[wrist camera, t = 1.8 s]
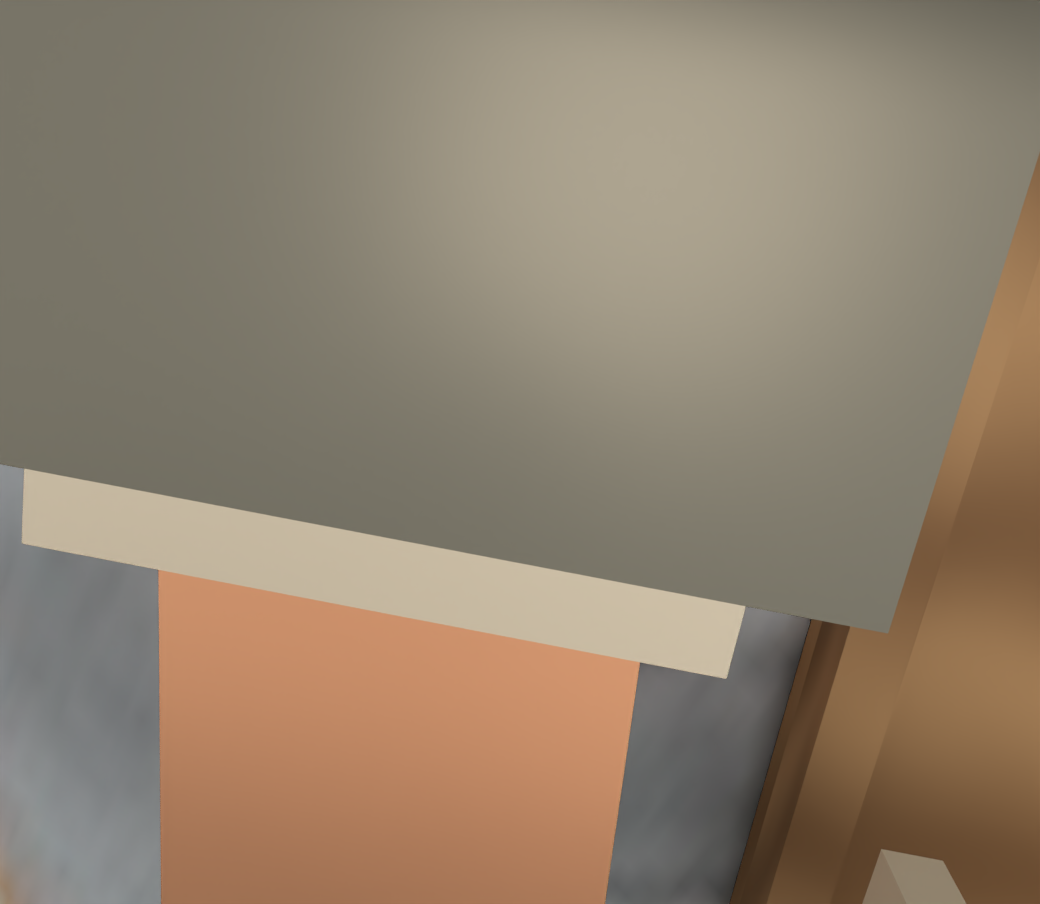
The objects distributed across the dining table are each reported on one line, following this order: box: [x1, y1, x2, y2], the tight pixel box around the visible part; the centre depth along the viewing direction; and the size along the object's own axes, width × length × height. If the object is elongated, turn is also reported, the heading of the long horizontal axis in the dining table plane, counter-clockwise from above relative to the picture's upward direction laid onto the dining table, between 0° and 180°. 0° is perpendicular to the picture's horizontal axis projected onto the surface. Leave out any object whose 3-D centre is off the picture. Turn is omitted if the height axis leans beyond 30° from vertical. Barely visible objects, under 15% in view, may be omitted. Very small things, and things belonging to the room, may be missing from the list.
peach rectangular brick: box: [158, 570, 640, 904], centre depth 15 cm, size 12×6×8 cm, turn 174°
